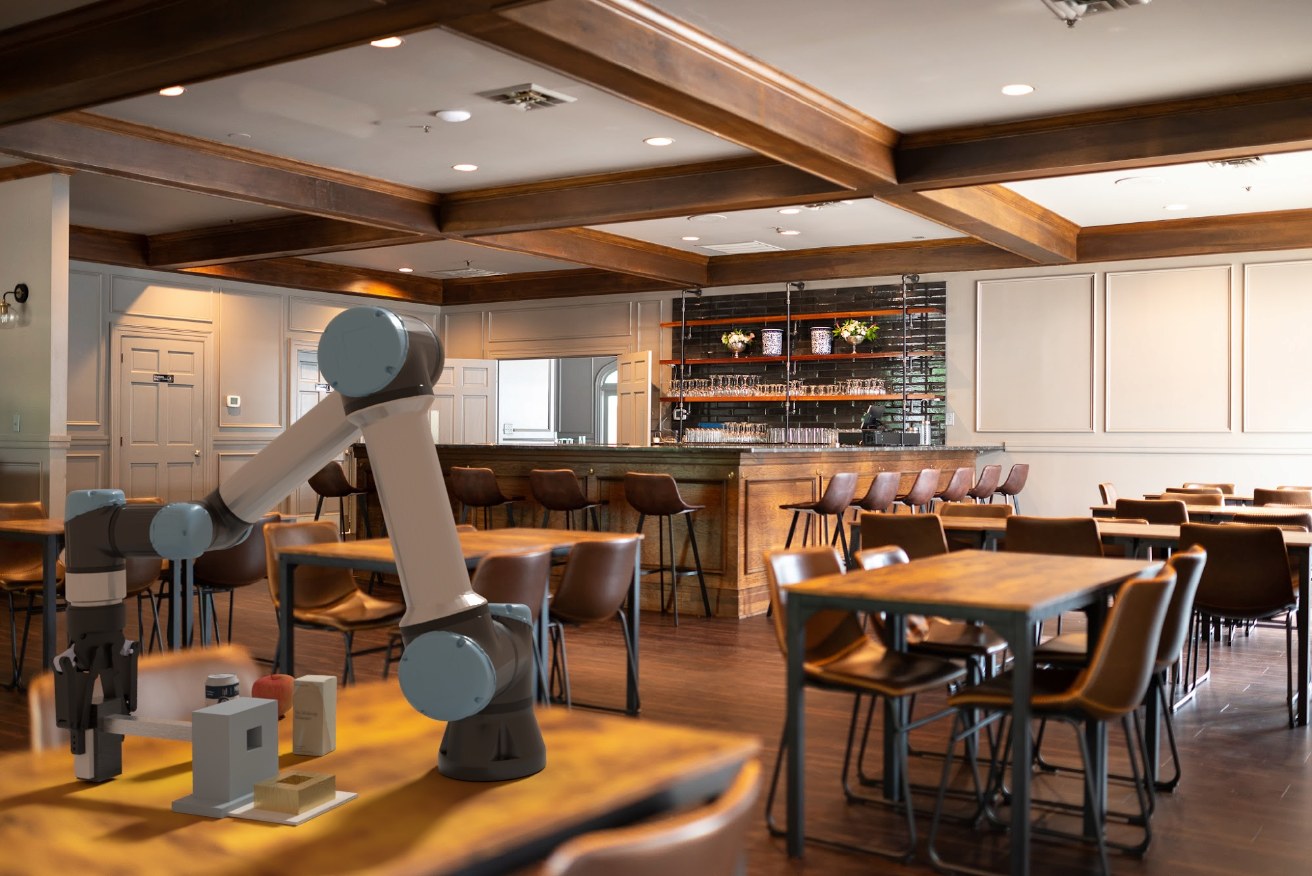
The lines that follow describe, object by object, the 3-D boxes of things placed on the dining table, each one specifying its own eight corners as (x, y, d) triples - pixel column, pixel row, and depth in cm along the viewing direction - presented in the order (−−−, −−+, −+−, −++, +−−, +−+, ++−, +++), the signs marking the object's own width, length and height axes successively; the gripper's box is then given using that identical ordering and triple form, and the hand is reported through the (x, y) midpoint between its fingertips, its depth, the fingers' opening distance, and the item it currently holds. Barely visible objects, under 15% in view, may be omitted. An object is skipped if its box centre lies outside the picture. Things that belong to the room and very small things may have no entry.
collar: (292, 792, 151) (335, 798, 148) (253, 808, 145) (298, 815, 142) (291, 769, 151) (335, 775, 148) (253, 784, 145) (298, 790, 142)
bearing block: (297, 786, 155) (296, 696, 155) (222, 818, 142) (220, 720, 142) (249, 780, 158) (248, 692, 158) (171, 811, 145) (170, 715, 145)
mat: (358, 796, 151) (358, 793, 151) (296, 825, 139) (296, 822, 139) (289, 788, 155) (289, 785, 155) (224, 815, 144) (224, 812, 144)
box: (291, 754, 171) (290, 679, 171) (306, 747, 175) (306, 673, 175) (323, 756, 170) (322, 681, 170) (338, 749, 174) (337, 675, 174)
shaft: (236, 788, 153) (235, 708, 153) (214, 797, 149) (213, 715, 149) (100, 771, 162) (99, 695, 162) (76, 779, 158) (75, 702, 158)
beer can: (228, 762, 167) (227, 679, 167) (198, 761, 168) (197, 678, 168) (246, 753, 172) (245, 672, 172) (217, 752, 173) (216, 671, 173)
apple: (302, 710, 199) (301, 664, 199) (291, 721, 192) (291, 672, 192) (258, 712, 199) (258, 665, 199) (246, 722, 191) (245, 673, 191)
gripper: (125, 592, 169) (127, 753, 169) (21, 609, 153) (24, 787, 153) (165, 594, 166) (167, 758, 166) (63, 611, 150) (66, 793, 150)
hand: (98, 772), depth 159 cm, fingers closed on shaft, 4 cm apart
